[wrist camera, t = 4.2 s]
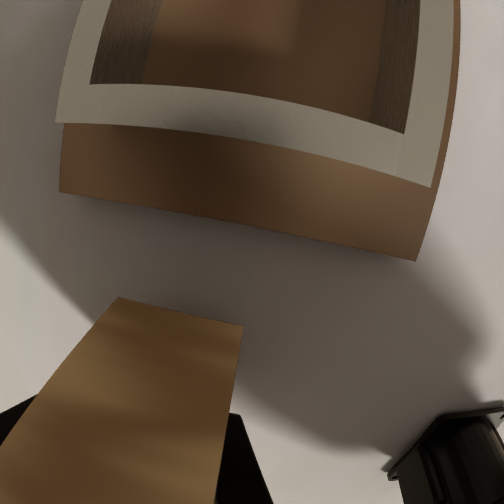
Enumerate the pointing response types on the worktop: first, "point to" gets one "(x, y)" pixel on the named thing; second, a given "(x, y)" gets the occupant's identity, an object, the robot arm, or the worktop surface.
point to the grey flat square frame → (267, 109)
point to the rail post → (128, 414)
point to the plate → (255, 153)
